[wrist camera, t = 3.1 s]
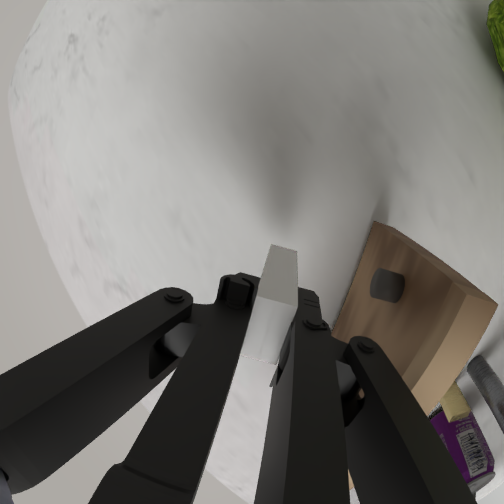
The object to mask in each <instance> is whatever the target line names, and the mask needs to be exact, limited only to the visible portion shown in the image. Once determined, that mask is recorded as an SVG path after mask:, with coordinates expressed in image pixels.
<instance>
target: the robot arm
mask: <svg viewBox="0 0 504 504" xmlns="http://www.w3.org/2000/svg"><path fill="white" fill-rule="evenodd" d="M239 356H244V357H247V358H251V359H255V360H258V361H262V362H266V363H270V364H274V365H276V364H277V361H278V359H279V364H278V366H277V369H276V371H275V374H274V376H273V379H272V381H271V383H270V386H269V387H272V386H273V390H272V397H271V404H270V411H269V418H268V424H267V431H266V437H265V443H264V450H263V456H262V462H261V467H260V473H259V479H258V484H257V490H256V495H255V500H254V504H350V492H349V475H348V470H349V473H350V476H351V479H352V481H353V484H354V487H355V490H356V493H357V496H358V499H359V502H360V504H477V502H476V500H475V498H476V492H475V493H473V494H472V492H471V490H470V489H469V487H468V485H467V483H466V481H465V479H464V478H463V476H462V474H461V472H460V470H459V469H458V467H457V465H456V463H455V462H454V460H453V458H452V457H451V455H450V453H449V451H448V450H447V448H446V446H445V445H444V443H443V441H442V440H441V438H440V436H439V435H438V433H437V432H436V430H435V428H434V427H433V425H432V423H431V422H430V420H429V419H428V417H427V416H426V414H425V412H424V411H423V409H422V408H421V406H420V405H419V403H418V401H417V400H416V398H415V397H414V395H413V394H412V392H411V391H410V389H409V388H408V386H407V385H406V383H405V382H404V380H403V379H402V377H401V376H400V374H399V373H398V371H397V370H396V368H395V367H394V366H393V364H392V363H391V361H390V360H389V358H388V357H387V355H386V354H385V353H384V351H383V350H382V348H381V347H380V346H379V345H378V344H377V343H376V342H375V341H373V340H372V339H370V338H368V337H363V336H354V337H352V338H351V339H350V341H349V343H348V344H347V343H345V342H343V341H340V340H338V339H336V338H334V337H333V336H331V330H330V327H329V325H328V324H327V323H326V322H325V321H324V320H322V316H321V309H320V304H319V297H318V296H317V295H316V293H315V292H314V291H311V290H307V289H303V288H299V287H298V273H297V251H295V250H291V249H287V248H284V247H280V246H276V245H273V244H271V246H270V250H269V253H268V256H267V259H266V263H265V266H264V269H263V272H262V276H261V278H259V277H256V276H252V275H248V274H245V273H241V272H240V273H238V274H236V275H225V276H223V277H221V279H220V284H219V289H218V293H217V298H216V300H215V302H214V304H207V305H206V304H195V303H193V297H192V296H191V294H190V293H188V292H187V291H185V290H182V289H180V288H175V287H170V288H163V289H160V290H158V291H156V292H154V293H152V294H150V295H148V296H146V297H144V298H143V299H141V300H139V301H137V302H135V303H133V304H131V305H129V306H127V307H125V308H124V309H122V310H120V311H118V312H116V313H114V314H112V315H110V316H108V317H107V318H105V319H103V320H101V321H99V322H97V323H95V324H93V325H92V326H90V327H88V328H86V329H84V330H82V331H80V332H79V333H77V334H75V335H73V336H71V337H69V338H68V339H66V340H64V341H62V342H60V343H58V344H56V345H54V346H52V347H51V348H49V349H47V350H45V351H43V352H41V353H40V354H38V355H36V356H34V357H32V358H30V359H29V360H27V361H25V362H23V363H21V364H19V365H18V366H16V367H14V368H12V369H10V370H8V371H7V372H5V373H3V374H1V375H0V504H14V503H13V500H12V494H16V493H20V492H23V491H25V490H27V489H30V488H32V487H34V486H35V485H37V484H39V483H40V482H41V481H43V480H45V479H46V478H47V477H49V476H50V475H51V474H52V473H54V472H55V471H56V470H58V469H59V468H60V467H61V466H63V465H64V464H65V463H66V462H68V461H69V460H70V459H71V458H73V457H74V456H75V455H76V454H77V453H79V452H80V451H81V450H82V449H84V448H85V447H86V446H87V445H88V444H90V443H91V442H92V441H93V440H94V439H95V438H97V437H98V436H99V435H100V434H102V433H103V432H104V431H105V430H106V429H108V427H110V426H111V425H112V424H113V423H115V422H116V421H117V420H118V419H119V418H120V417H122V416H123V415H124V414H125V413H126V412H127V411H129V410H130V409H131V408H132V407H133V406H134V405H135V404H136V403H138V402H139V401H140V400H141V399H142V398H143V397H144V396H146V395H147V394H148V393H149V392H150V391H151V390H152V389H153V388H155V387H156V386H157V385H158V384H159V383H160V382H161V381H162V380H163V379H165V378H166V377H167V376H168V375H169V374H170V373H171V372H172V371H173V370H175V369H176V370H175V372H174V373H173V375H172V377H171V379H170V381H169V382H168V384H167V386H166V388H165V389H164V391H163V393H162V395H161V396H160V398H159V400H158V402H157V403H156V405H155V407H154V409H153V410H152V412H151V414H150V416H149V418H148V419H147V421H146V423H145V425H144V426H143V428H142V430H141V432H140V434H139V435H138V437H137V439H136V441H135V443H134V444H133V446H132V448H131V450H130V452H129V453H128V455H127V457H126V458H125V460H124V461H123V462H122V463H119V464H114V465H113V466H112V467H111V468H110V469H109V470H108V471H107V473H106V474H105V476H104V477H103V479H102V480H101V482H100V484H99V486H98V487H97V489H96V491H95V492H94V494H93V496H92V498H91V499H90V501H89V503H88V504H193V501H194V499H195V496H196V492H197V490H198V487H199V483H200V481H201V478H202V474H203V471H204V468H205V465H206V462H207V459H208V456H209V453H210V450H211V447H212V444H213V441H214V437H215V434H216V431H217V428H218V425H219V422H220V418H221V415H222V412H223V409H224V406H225V402H226V399H227V396H228V393H229V389H230V386H231V383H232V380H233V376H234V373H235V370H236V366H237V363H238V360H239ZM361 389H362V390H363V392H364V397H363V398H361V397H360V395H359V392H360V390H361Z"/></svg>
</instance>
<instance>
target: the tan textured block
mask: <svg viewBox="0 0 504 504" xmlns="http://www.w3.org/2000/svg"><path fill="white" fill-rule="evenodd" d="M440 404H441V406H442V408H443V410H444V412H445V415H446V417H447V419H448V422H449V423H450V422H453V421H456V420H459V419H462V418H465V417H468V415H469V413H470V411H471V409H470V407H469V405H468V404H467V402H466V400H465V398H464V396H463V394H462V393H461V391H460V389H459V387H458V385H457V384H456V382H455V381H454V382H453V383H452V385H451V386H450V388H449V389H448V390H447V392H446V393H445V394H444V396H443V397H442V398H441V400H440Z"/></svg>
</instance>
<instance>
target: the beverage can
mask: <svg viewBox="0 0 504 504" xmlns="http://www.w3.org/2000/svg"><path fill="white" fill-rule="evenodd" d="M430 422H431V423H432V425H433V427H434V428H435V430H436V432H437V433H438V435H439V436H440V438H441V440H442V441H443V443H444V445H445V446H446V448H447V450H448V451H449V453H450V455H451V457H452V458H453V460H454V462H455V463H456V465H457V467H458V469H459V470H460V472H461V474H462V476H463V478H464V479H465V481H466V483H467V485H468V487H469V489H470V490H471V492H472V494H473V493H475V492H477V491H478V490H480V489H481V488H483V487H484V486H485V485H486V484H488V483H489V482H490V481H491V480H492V479H493V478H494V476H495V472H493V469H494V458H493V456H492V453H491V451H490V449H489V446H488V444H487V442H486V440H485V438H484V435H483V433H482V431H481V429H480V427H479V425H478V423H477V421H476V419H475V417H474V415H473V413H472V411H470V413H469V415H468V417H465V418H462V419H459V420H456V421H453V422H450V423H449V422H448V419H447V417H446V415H445V412H444V410H443V411H441V412H439V413H438V414H437V415H435V416H434V417H433V418H432V419H431V420H430Z"/></svg>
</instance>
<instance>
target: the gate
mask: <svg viewBox="0 0 504 504" xmlns="http://www.w3.org/2000/svg"><path fill="white" fill-rule="evenodd" d="M497 306H498V304H497V303H496V302H495V301H494V300H492V299H491V298H490V297H489V296H488V295H486V294H485V293H484V292H482V291H481V290H479V289H478V288H477V287H476V286H474V285H473V284H472V283H471V282H469V281H468V280H467V279H466V278H464V277H463V276H462V275H460V274H459V273H458V272H457V271H455V270H454V269H453V268H451V267H450V266H449V265H447V264H446V263H444V262H443V261H442V260H440V259H439V258H438V257H436V256H435V255H433V254H432V253H431V252H429V251H428V250H426V249H425V248H423V247H422V246H420V245H419V244H418V243H416V242H415V241H413V240H412V239H410V238H409V237H407V236H406V235H404V234H403V233H401V232H400V231H398V230H396V229H395V228H393V227H390V226H387V225H385V224H382V223H379V222H376V221H374V222H373V225H372V228H371V231H370V234H369V237H368V240H367V243H366V246H365V249H364V252H363V255H362V258H361V261H360V263H359V266H358V269H357V272H356V274H355V277H354V280H353V282H352V285H351V287H350V290H349V293H348V295H347V298H346V300H345V303H344V305H343V307H342V310H341V312H340V315H339V317H338V319H337V322H336V324H335V326H334V329H333V331H332V333H331V336H333V337H334V338H336V339H338V340H340V341H343V342H345V343H347V344H348V343H349V341H350V339H351V338H352V337H354V336H363V337H368V338H370V339H372V340H373V341H375V342H376V343H377V344H378V345H379V346H380V347H381V348H382V350H383V351H384V353H385V354H386V355H387V357H388V358H389V360H390V361H391V363H392V364H393V366H394V367H395V368H396V370H397V371H398V373H399V374H400V376H401V377H402V379H403V380H404V382H405V383H406V385H407V386H408V388H409V389H410V391H411V392H412V394H413V395H414V397H415V398H416V400H417V401H418V403H419V405H420V406H421V408H422V409H423V411H424V412H425V414H426V416H428V415H429V413H430V412H431V411H432V410H433V409H434V407H435V406H436V405H437V404H438V402H439V401H440V400H441V398H442V397H443V396H444V394H445V393H446V392H447V390H448V389H449V388H450V386H451V385H452V383H453V382H454V381H455V379H456V378H457V376H458V375H459V373H460V372H461V370H462V369H463V367H464V366H465V364H466V363H467V361H468V360H469V358H470V356H471V355H472V353H473V351H474V350H475V348H476V346H477V345H478V343H479V341H480V339H481V338H482V336H483V334H484V332H485V330H486V328H487V327H488V325H489V323H490V321H491V319H492V317H493V315H494V313H495V311H496V308H497ZM359 395H360V397H361V398H363V397H364V392H363V390H362V389H361V390H360V392H359ZM348 475H349V490H351V489H352V488H353V487H354V484H353V481H352V479H351V476H350V473H349V470H348Z"/></svg>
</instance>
